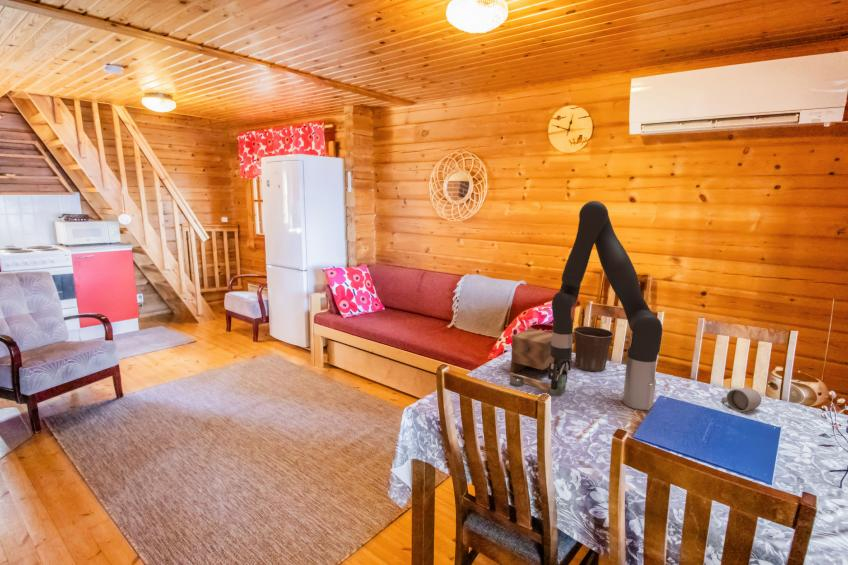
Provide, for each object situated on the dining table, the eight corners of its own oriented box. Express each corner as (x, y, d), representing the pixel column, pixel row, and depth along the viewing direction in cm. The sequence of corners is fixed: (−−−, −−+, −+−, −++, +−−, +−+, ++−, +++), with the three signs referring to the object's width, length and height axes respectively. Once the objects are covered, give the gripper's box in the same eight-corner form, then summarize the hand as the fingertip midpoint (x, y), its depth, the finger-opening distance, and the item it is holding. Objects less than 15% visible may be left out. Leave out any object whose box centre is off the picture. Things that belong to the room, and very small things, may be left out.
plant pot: (616, 367, 194) (620, 331, 192) (601, 377, 183) (605, 339, 180) (580, 358, 205) (583, 324, 203) (564, 366, 194) (567, 330, 191)
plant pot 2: (538, 344, 224) (539, 321, 222) (560, 351, 214) (562, 327, 212) (521, 349, 216) (523, 325, 214) (544, 356, 206) (546, 331, 204)
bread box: (558, 371, 188) (561, 335, 185) (541, 383, 175) (544, 343, 173) (527, 363, 197) (529, 328, 194) (508, 373, 185) (510, 336, 182)
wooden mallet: (565, 392, 167) (566, 375, 165) (560, 396, 164) (562, 378, 162) (512, 377, 181) (513, 360, 179) (507, 380, 178) (508, 363, 176)
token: (525, 384, 175) (525, 377, 174) (520, 388, 170) (520, 381, 170) (513, 381, 177) (513, 375, 177) (508, 385, 173) (508, 378, 173)
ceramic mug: (761, 411, 155) (764, 390, 153) (747, 415, 151) (750, 394, 150) (729, 399, 164) (732, 379, 163) (715, 403, 160) (718, 383, 159)
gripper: (563, 351, 156) (560, 394, 158) (579, 341, 166) (576, 383, 169) (543, 346, 160) (540, 389, 163) (560, 337, 171) (557, 378, 174)
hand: (558, 385), depth 166 cm, fingers open, 8 cm apart
